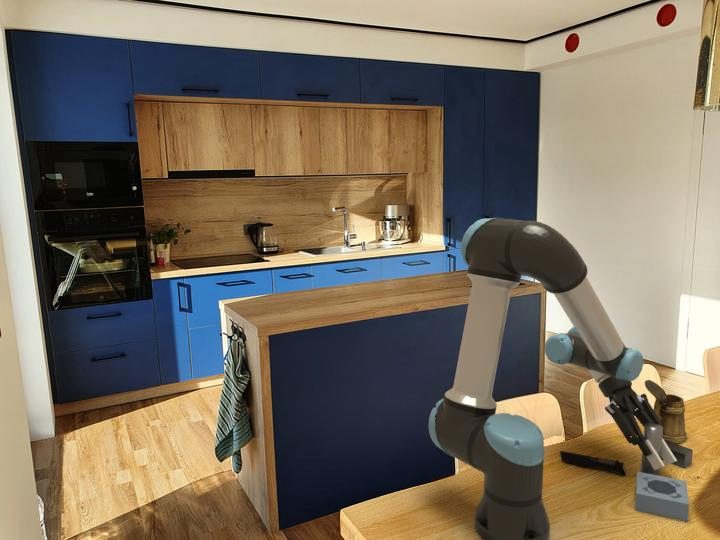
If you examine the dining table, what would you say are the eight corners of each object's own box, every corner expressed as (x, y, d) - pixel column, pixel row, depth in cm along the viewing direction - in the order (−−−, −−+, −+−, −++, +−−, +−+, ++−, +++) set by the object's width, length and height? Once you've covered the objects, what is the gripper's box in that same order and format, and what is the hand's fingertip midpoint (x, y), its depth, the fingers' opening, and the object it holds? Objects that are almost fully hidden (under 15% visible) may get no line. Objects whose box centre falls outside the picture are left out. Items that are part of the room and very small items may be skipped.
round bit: (640, 474, 139) (644, 428, 137) (641, 467, 142) (644, 421, 140) (659, 478, 137) (663, 431, 135) (659, 470, 141) (662, 424, 138)
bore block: (635, 510, 125) (636, 493, 125) (636, 487, 134) (637, 471, 133) (687, 521, 121) (688, 504, 120) (684, 497, 130) (686, 481, 129)
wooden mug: (630, 435, 159) (635, 374, 156) (665, 426, 164) (670, 367, 161) (658, 450, 151) (663, 385, 148) (694, 439, 156) (699, 377, 153)
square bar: (644, 454, 150) (645, 439, 149) (652, 449, 152) (653, 435, 151) (684, 469, 142) (685, 454, 141) (691, 464, 144) (692, 449, 143)
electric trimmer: (560, 458, 149) (561, 447, 148) (626, 470, 142) (626, 458, 141) (558, 465, 146) (559, 453, 145) (625, 478, 139) (626, 466, 138)
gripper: (622, 378, 154) (676, 461, 142) (578, 390, 146) (631, 480, 134) (641, 365, 148) (699, 451, 137) (597, 377, 140) (654, 469, 129)
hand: (665, 465), depth 136 cm, fingers closed on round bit, 4 cm apart
